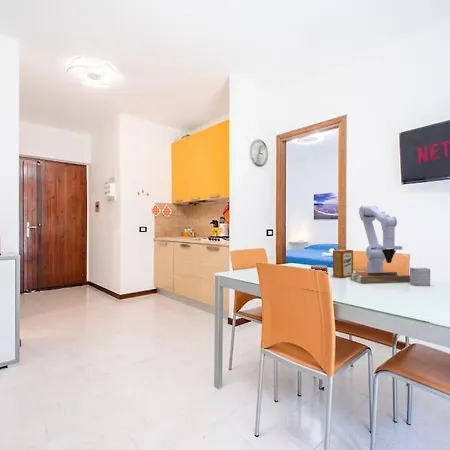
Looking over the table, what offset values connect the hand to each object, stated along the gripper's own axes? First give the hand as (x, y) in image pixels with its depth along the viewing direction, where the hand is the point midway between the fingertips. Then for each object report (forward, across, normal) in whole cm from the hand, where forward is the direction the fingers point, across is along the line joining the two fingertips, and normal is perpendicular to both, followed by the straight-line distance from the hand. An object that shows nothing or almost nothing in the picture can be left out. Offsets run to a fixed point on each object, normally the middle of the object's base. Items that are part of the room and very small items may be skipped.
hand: (388, 262), depth 172 cm
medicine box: (+10, +7, -16) cm, 20 cm away
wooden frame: (+9, -7, -3) cm, 12 cm away
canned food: (+10, -46, -17) cm, 50 cm away
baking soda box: (+10, -21, +12) cm, 26 cm away
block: (+7, -17, -3) cm, 19 cm away
